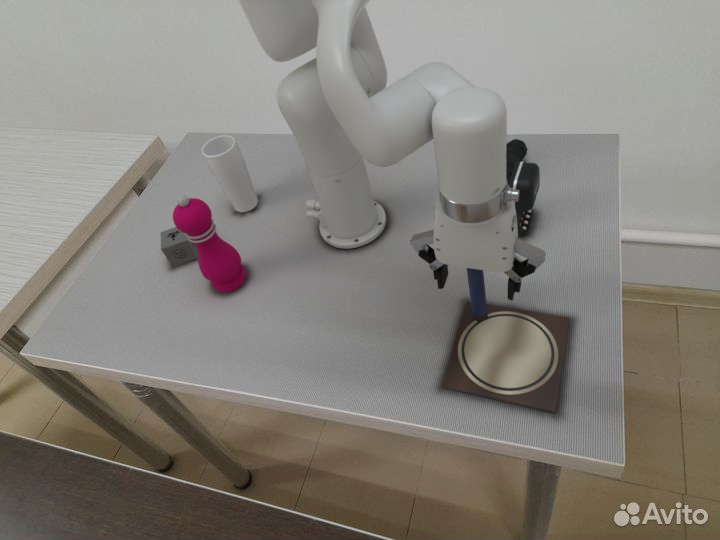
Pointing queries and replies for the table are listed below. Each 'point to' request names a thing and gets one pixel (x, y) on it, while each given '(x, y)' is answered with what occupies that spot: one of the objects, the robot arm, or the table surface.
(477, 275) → the cylinder
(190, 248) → the grey toy cube
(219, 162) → the drinking glass
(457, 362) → the brown square board
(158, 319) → the table surface
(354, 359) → the table surface
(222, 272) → the pepper mill
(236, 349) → the table surface
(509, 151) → the flashlight
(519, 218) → the battery charger
